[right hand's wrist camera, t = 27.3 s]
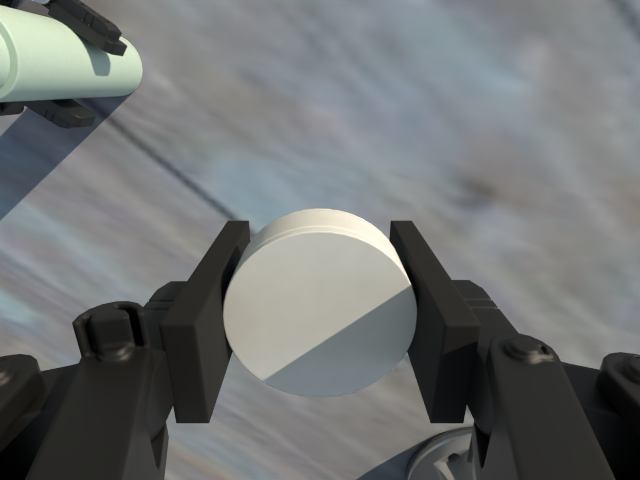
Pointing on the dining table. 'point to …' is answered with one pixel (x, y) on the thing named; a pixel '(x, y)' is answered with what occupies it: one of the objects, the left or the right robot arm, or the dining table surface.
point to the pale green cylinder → (59, 62)
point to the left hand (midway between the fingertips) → (102, 86)
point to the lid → (319, 305)
